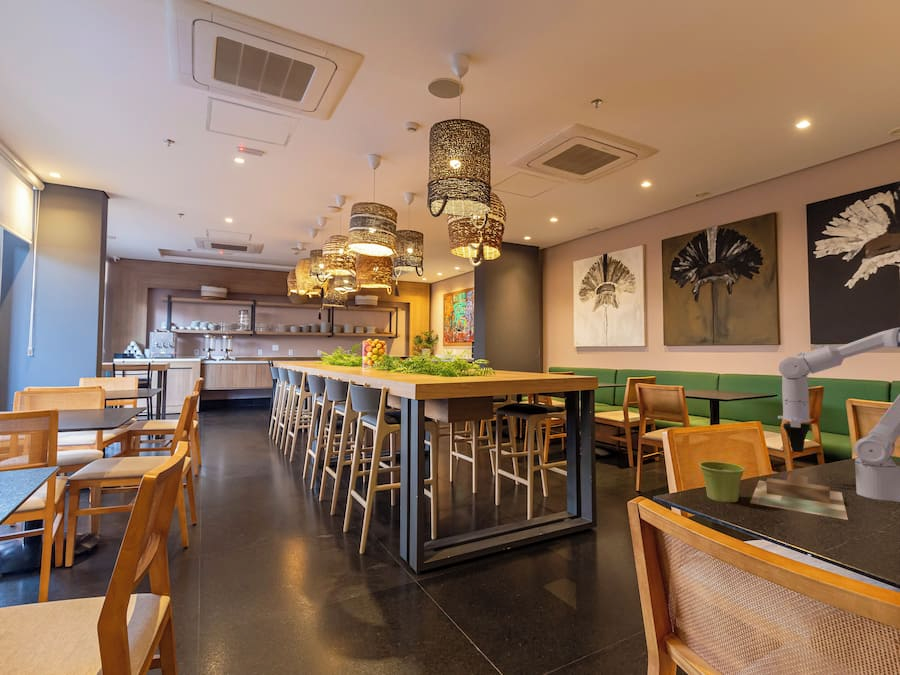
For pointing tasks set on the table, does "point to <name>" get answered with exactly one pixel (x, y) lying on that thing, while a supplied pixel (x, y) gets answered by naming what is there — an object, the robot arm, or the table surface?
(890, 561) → the table surface
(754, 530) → the table surface
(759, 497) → the t board
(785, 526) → the table surface
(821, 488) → the t block
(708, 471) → the plant pot
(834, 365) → the robot arm
